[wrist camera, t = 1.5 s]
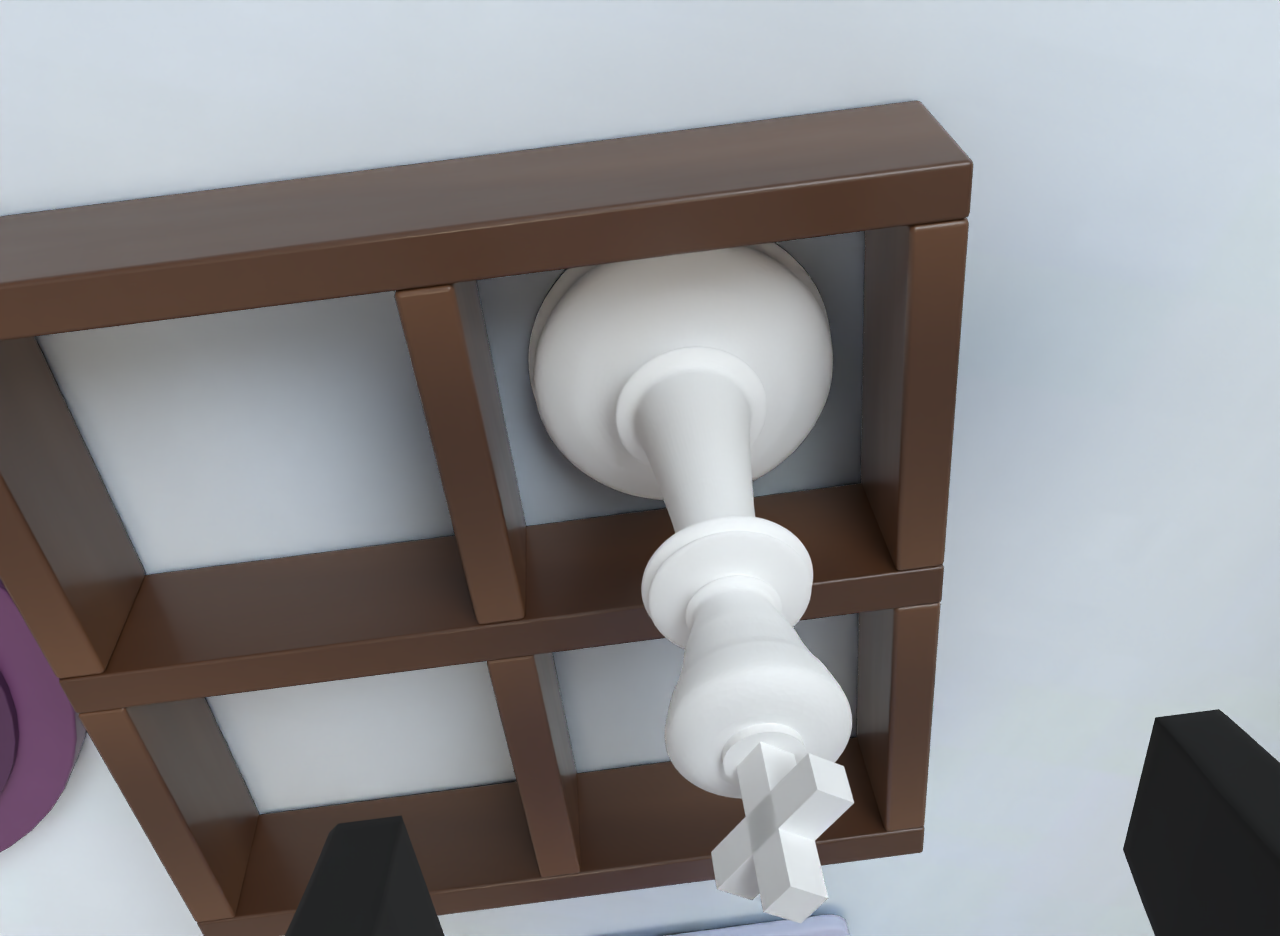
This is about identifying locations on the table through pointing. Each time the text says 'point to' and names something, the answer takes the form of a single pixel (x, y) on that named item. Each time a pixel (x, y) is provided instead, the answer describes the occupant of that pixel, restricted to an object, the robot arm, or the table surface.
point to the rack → (481, 500)
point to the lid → (31, 729)
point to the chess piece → (715, 524)
